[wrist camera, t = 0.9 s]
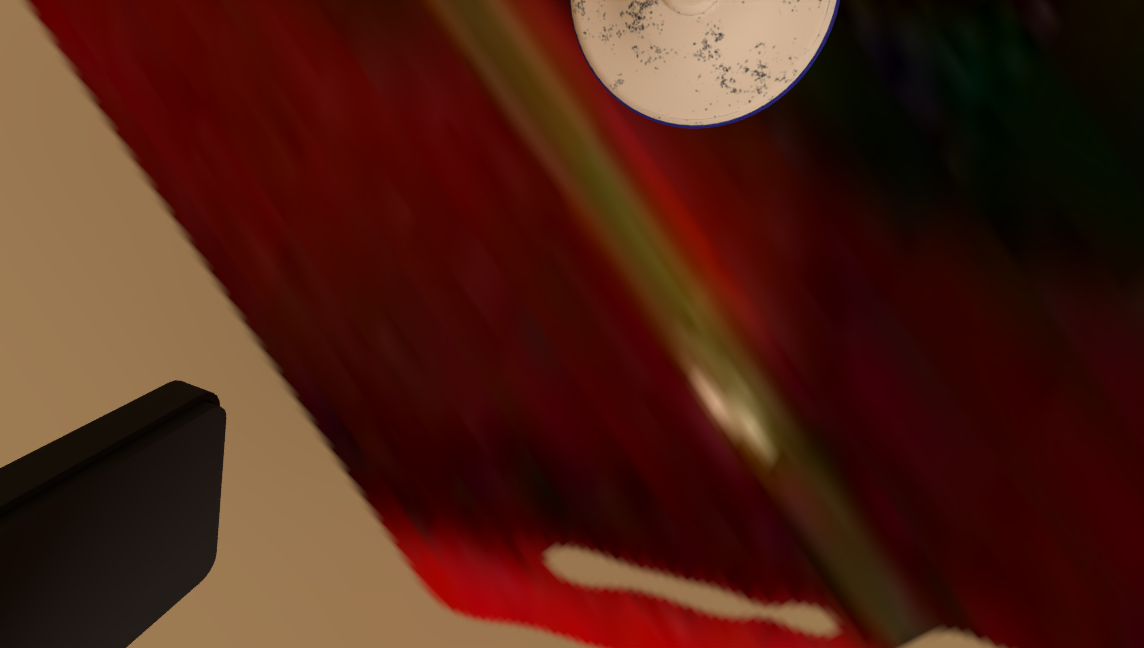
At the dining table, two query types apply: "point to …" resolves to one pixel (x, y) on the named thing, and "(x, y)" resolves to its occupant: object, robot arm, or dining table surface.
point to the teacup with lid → (700, 53)
